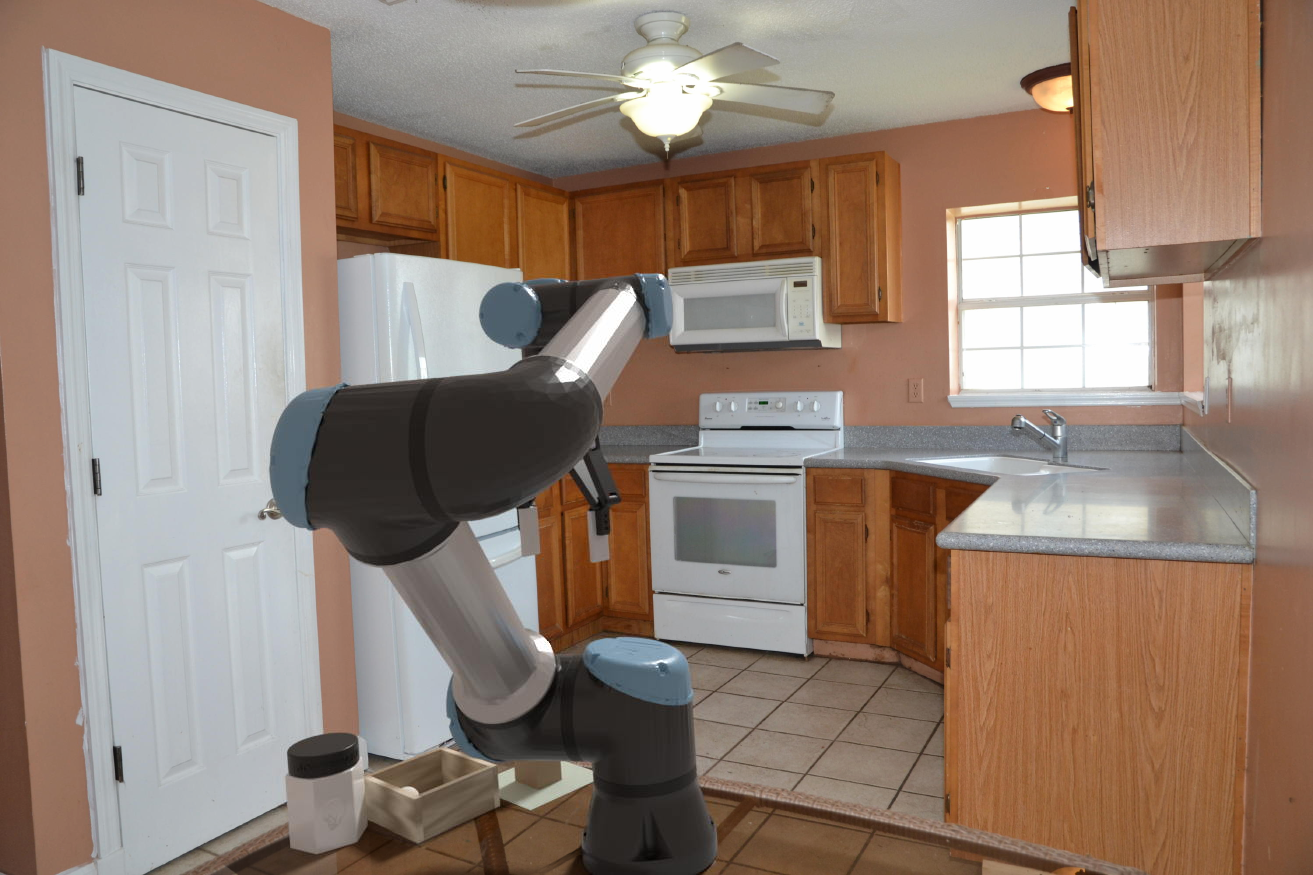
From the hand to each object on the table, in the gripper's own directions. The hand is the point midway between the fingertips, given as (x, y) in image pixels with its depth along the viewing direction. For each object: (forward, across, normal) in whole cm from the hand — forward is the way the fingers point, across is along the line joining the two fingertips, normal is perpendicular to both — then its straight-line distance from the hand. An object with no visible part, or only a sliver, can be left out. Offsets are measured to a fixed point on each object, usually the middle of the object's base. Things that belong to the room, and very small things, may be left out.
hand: (564, 558), depth 118 cm
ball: (+30, +12, +19) cm, 37 cm away
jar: (+31, +14, +28) cm, 44 cm away
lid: (+31, +5, +3) cm, 32 cm away
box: (+31, +9, +17) cm, 36 cm away
